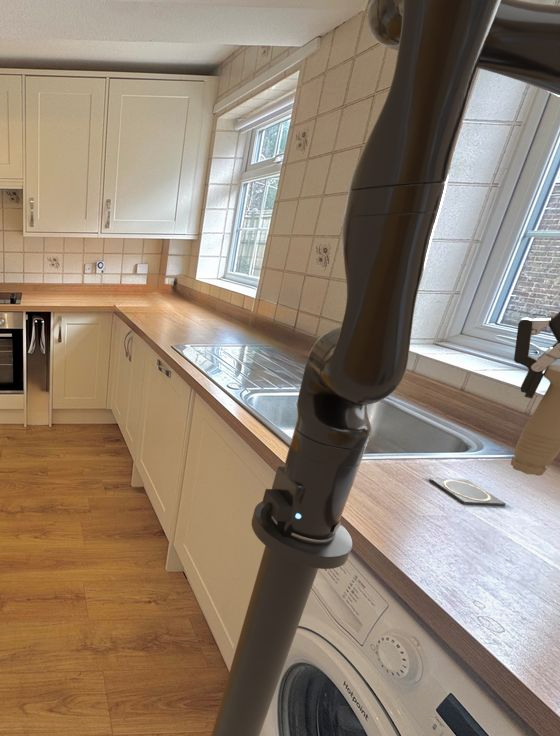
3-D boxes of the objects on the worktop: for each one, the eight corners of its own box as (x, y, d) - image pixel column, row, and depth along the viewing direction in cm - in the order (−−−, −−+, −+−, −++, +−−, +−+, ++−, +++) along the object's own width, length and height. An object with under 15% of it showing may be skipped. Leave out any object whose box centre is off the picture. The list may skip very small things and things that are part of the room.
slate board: (463, 504, 75) (465, 501, 74) (428, 480, 82) (430, 477, 82) (505, 505, 75) (506, 503, 74) (466, 482, 82) (467, 479, 81)
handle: (561, 475, 57) (618, 374, 52) (537, 484, 55) (594, 379, 49) (514, 458, 61) (563, 363, 56) (490, 465, 59) (538, 367, 54)
